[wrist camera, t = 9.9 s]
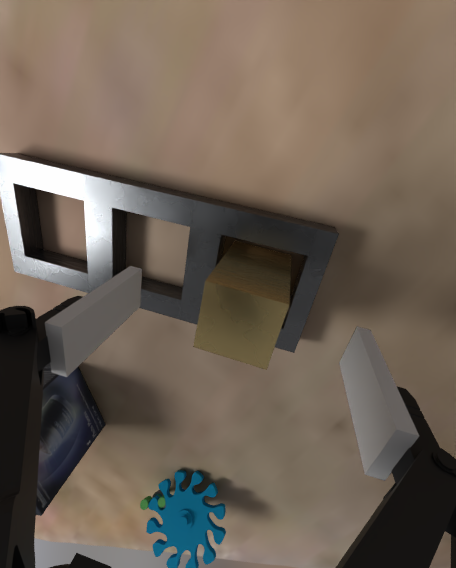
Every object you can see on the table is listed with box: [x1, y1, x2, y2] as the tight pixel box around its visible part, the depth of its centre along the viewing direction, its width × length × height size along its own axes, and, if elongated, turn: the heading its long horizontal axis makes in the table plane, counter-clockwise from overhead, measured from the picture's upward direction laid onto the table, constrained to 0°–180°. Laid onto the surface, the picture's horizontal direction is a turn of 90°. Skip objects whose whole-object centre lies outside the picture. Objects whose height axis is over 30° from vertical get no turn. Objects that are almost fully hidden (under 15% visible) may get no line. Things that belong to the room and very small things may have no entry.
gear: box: [140, 470, 226, 568], centre depth 35 cm, size 11×6×10 cm
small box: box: [36, 363, 105, 515], centre depth 30 cm, size 11×6×10 cm, turn 11°
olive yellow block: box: [193, 241, 291, 370], centre depth 19 cm, size 4×4×8 cm
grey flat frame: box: [0, 153, 339, 353], centre depth 22 cm, size 26×10×2 cm, turn 79°
